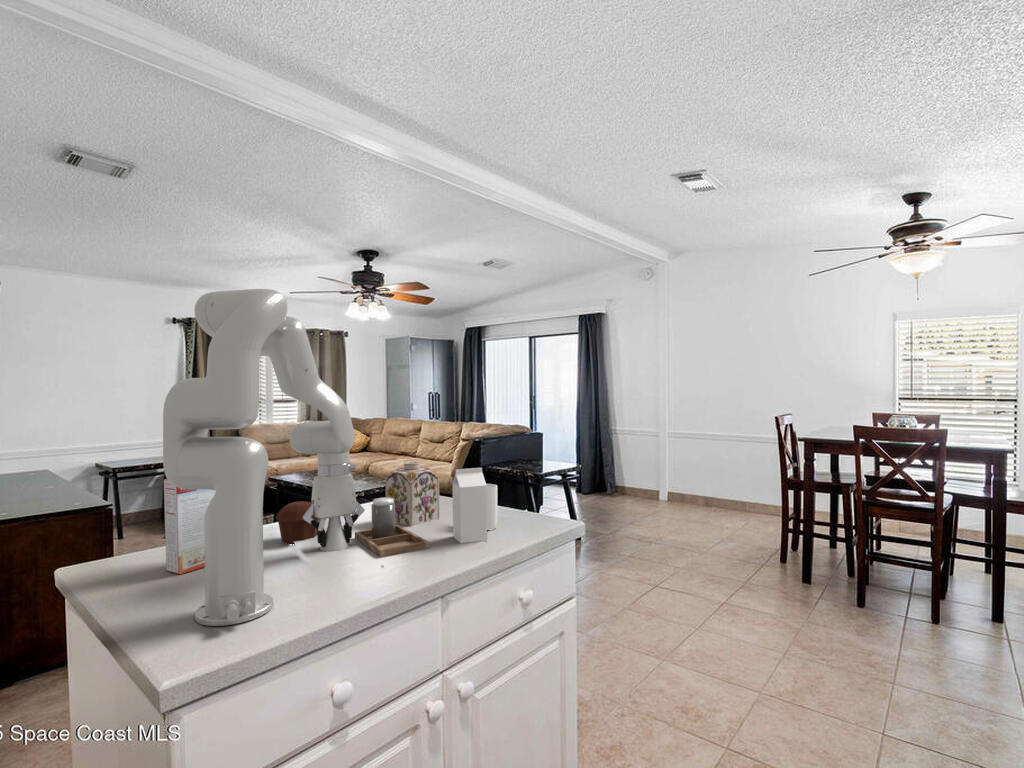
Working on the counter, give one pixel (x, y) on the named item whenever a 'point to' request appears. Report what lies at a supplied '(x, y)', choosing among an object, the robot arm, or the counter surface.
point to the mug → (491, 506)
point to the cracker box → (185, 527)
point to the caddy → (392, 542)
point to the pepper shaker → (383, 518)
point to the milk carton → (469, 505)
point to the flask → (335, 536)
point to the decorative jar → (414, 494)
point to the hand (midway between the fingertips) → (334, 543)
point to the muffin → (295, 522)
